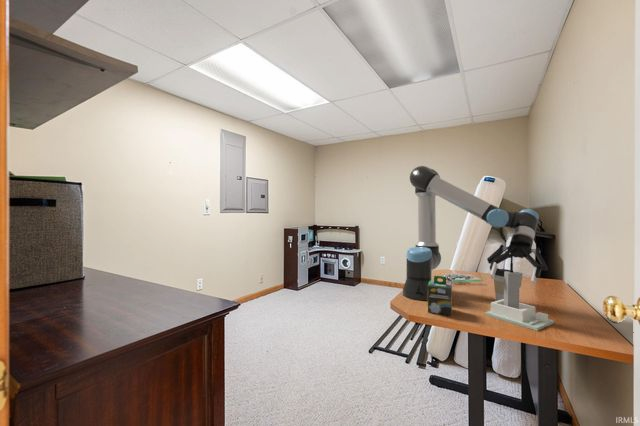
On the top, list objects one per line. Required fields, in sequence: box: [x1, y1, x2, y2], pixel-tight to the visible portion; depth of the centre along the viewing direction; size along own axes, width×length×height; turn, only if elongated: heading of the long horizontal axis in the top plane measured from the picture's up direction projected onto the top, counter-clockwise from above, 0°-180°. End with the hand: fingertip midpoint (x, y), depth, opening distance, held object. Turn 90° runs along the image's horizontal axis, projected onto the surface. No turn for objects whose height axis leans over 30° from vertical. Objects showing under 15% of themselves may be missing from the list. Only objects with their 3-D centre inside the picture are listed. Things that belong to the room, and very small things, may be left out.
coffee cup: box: [493, 267, 510, 301], centre depth 133 cm, size 9×9×15 cm
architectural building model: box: [484, 299, 555, 332], centre depth 111 cm, size 18×14×5 cm
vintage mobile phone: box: [504, 252, 523, 309], centre depth 112 cm, size 4×5×25 cm
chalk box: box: [427, 275, 453, 317], centre depth 119 cm, size 9×9×15 cm
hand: (511, 279), depth 111 cm, fingers open, 13 cm apart
